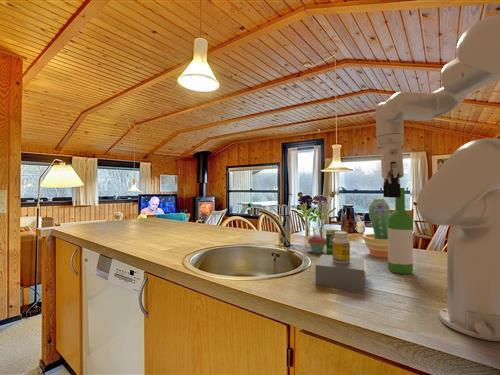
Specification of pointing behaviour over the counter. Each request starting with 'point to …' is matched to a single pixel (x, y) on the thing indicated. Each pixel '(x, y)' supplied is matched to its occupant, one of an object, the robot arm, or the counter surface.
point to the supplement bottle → (341, 248)
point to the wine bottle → (400, 238)
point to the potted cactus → (378, 228)
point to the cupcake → (317, 243)
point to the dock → (341, 273)
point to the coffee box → (329, 240)
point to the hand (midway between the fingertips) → (391, 197)
